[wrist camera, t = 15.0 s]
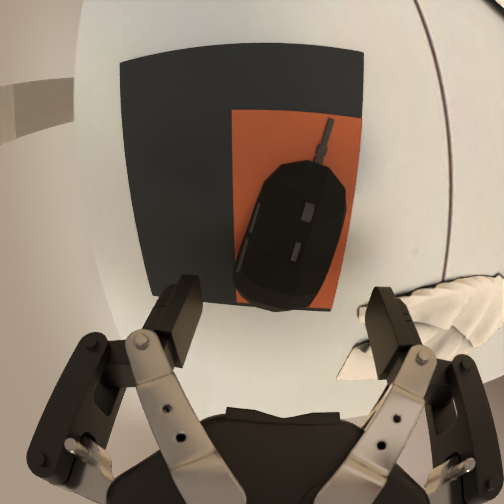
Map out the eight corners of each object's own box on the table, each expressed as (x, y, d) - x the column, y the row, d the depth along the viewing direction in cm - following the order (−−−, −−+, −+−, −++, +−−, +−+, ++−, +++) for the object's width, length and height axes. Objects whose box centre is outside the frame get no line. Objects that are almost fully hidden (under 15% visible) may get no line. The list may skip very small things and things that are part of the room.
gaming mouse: (377, 136, 15) (401, 147, 11) (301, 310, 22) (301, 346, 19) (281, 102, 14) (279, 101, 11) (228, 290, 22) (217, 325, 19)
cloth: (516, 312, 21) (524, 325, 18) (392, 403, 31) (394, 417, 29) (468, 204, 16) (484, 217, 14) (291, 355, 26) (290, 374, 24)
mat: (154, 292, 24) (151, 296, 24) (122, 63, 14) (118, 62, 13) (330, 308, 23) (330, 312, 22) (362, 53, 12) (364, 51, 12)
